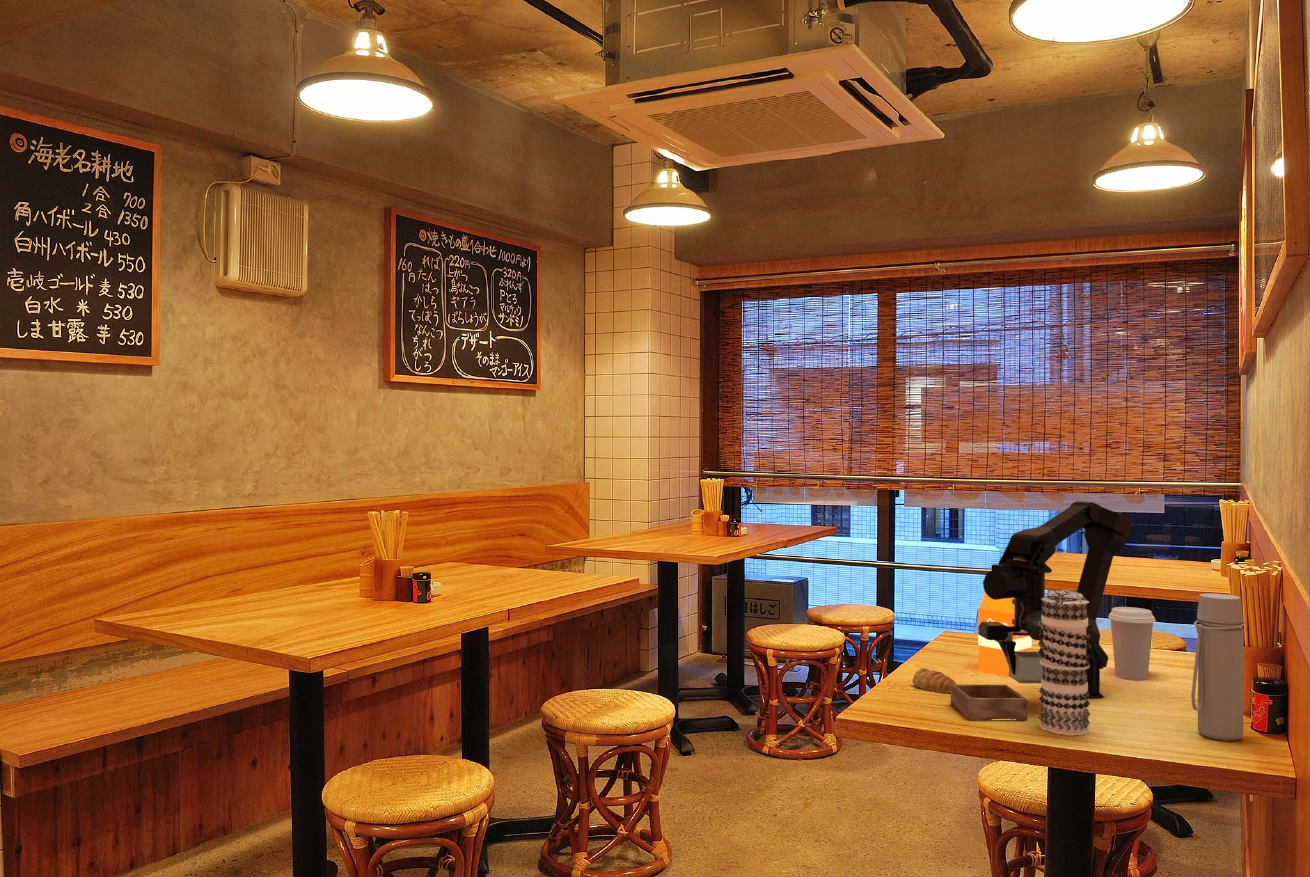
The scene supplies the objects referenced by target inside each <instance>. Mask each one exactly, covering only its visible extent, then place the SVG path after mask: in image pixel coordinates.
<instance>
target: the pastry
mask: <svg viewBox="0 0 1310 877" xmlns="http://www.w3.org/2000/svg"><path fill="white" fill-rule="evenodd" d="M912 684H913V685H914V687H915V688H917V689H919V688H920V689H921V690H923V689H925V690H924V691H928V692H932V691H934V692H933V693H938V694H951V685H958V683H956V681H955V680H954V679H952V678H950V676H947V675H946V674H944V673H943V672H940V671H938V670H929V669H928V668H926V667H924V668H919V670H916V672H915V673H914V675H913V678H912Z"/></svg>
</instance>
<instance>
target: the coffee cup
mask: <svg viewBox="0 0 1310 877" xmlns="http://www.w3.org/2000/svg"><path fill="white" fill-rule="evenodd" d="M1108 619H1109V620H1110V626H1111V627H1110V628H1111V638H1112V639H1111V640H1112V649H1113V650H1112V651H1113V661H1114V663H1113V664H1114V675H1115V677H1117V678H1118V679H1119V678H1120V679H1123V680H1127V681H1129V680H1130V681H1146V680H1148V679H1149V670H1150V669H1149V667H1150V658H1151V649H1152V648H1151V647H1152V639H1153V638H1152V637H1153V628H1154V623H1156V621H1157V620H1156V618H1155V616H1154V615H1153V612H1152V611H1151V610H1150V609H1146V608H1142V607H1141V608H1140V607H1129V606H1118V607H1117V606H1115V607H1112V608H1111V612H1110V613H1109V614H1108Z"/></svg>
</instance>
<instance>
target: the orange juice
mask: <svg viewBox="0 0 1310 877" xmlns="http://www.w3.org/2000/svg"><path fill="white" fill-rule="evenodd" d="M1012 599H1014V598H1008V599H999V600H994V599H991V598H990V597H989V596H988V595H987V594H986V593H985V592H984V595H983V597H982V600H981V603H980V606H979V607H978V625H979V624H980V623H981V622H1000V623H1002V624H1004V625H1006V626H1014V625H1013V624H1012V619H1014V604H1012ZM977 640H978V644H977V645H978V672H980V671H982V672H981V673H984V672H986V674H989V673H993V674H992V675H994V674H998V675H997V676H999V675H1005V676H1007V677H1006V678H1008V677H1009V666H1008V663H1007V661H1006V658H1005V656H1004V653H1003V651H1002V649H1001V647H1000V645H999V643H998V642H996V641H994V640H987V639H985V638H983V637H982V636H980V635H978V639H977ZM1013 641H1015V642H1016V646H1015V651H1032V641H1033V639H1032V638H1030V636H1016V635H1013Z"/></svg>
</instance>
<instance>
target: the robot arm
mask: <svg viewBox="0 0 1310 877" xmlns="http://www.w3.org/2000/svg"><path fill="white" fill-rule="evenodd" d="M1081 529H1083V530H1084V533H1083V534H1084V536H1083V537H1084V540H1085V542H1086V545H1087V548H1088V549H1087V554H1086V556H1085V560H1084V564H1083V567H1082V569H1081V570H1082V571H1081V574H1080V578H1079V582H1078V586H1077V589H1076V592H1079V593H1081V594H1082V595H1083V596H1084V598H1085V600H1087V601H1089V603H1087V618H1088V624H1090V625H1092V626H1093V627H1092V628H1091V629H1089V628H1088V629H1087V628H1086V634H1087V633H1088V634H1089V635H1090V636H1091V637H1092V639H1090V640H1088V641H1087V640H1086V643H1089V644H1090V645H1091V646H1092V647H1091V648H1089V649H1087V650H1086V653H1087V654H1088V655H1090V656H1091V658H1090V659H1089V660H1086V662H1087V663H1088V664H1090V666H1089V668H1088V669H1087V682H1088V691H1087V692H1088V693H1089V694H1090V696H1089V698H1104V694H1103V693H1101V691H1100V690H1101V688H1100V687H1101V686H1100V685H1101V684H1100V683H1101V681H1100V680H1101V678H1100V677H1101V676H1100V675H1101V670H1102V669H1104V668H1107V667H1108V666H1107V665H1108V660H1109V655H1108V654H1107V653H1106V652H1105V651H1104V649H1103V648H1102V646H1101V644H1100V640H1101V633H1100V629H1099V627H1098V624H1097V618H1098V613H1099V611H1100V606H1101V603H1102V599H1103V595H1104V592H1105V588H1106V584H1107V581H1108V577H1109V574H1110V569H1111V567H1112V562H1113V559H1114V557H1115V555H1117V553H1118V552H1120V550H1122V549H1123V548H1124V547H1125V546H1126V543H1127V541H1128V539H1129V537H1130V536H1129V535H1130V534H1131V530H1132V523H1131V521H1130V520H1129V519H1128V517H1127V515H1125V513H1119V512H1117V511H1114V510H1111V509H1108V508H1105V507H1103V506H1101V505H1100V504H1098V503H1096V502H1094V501H1081V500H1080V501H1079V500H1078V501H1077V500H1076V501H1073V502H1072V503H1071V504H1070V506H1069V507H1067V508H1065V509H1064V510H1063V511H1061V512H1059V513H1058V514H1056V515H1055V516H1054V517H1052V518H1050V519H1049V520H1047V521H1046V522H1044V523H1043V524H1041V525H1039V526H1037V527H1031V528H1025V529H1022V530H1019V531H1017V532H1015V533H1013V534H1012V535H1011V537H1010V538H1009V541H1008V543H1007V545H1006V547H1005V549H1004V552H1003V553H1002V556H1001V557H1000V560H999V562H997V563H998V564H997V563H995V564H992V565H991V570H990V571H988V572H987V573H986V574H985V576H984V579H983V581H982V585H983V591H984V594H985V593H986V594H987V595H988V596H989V597H990V598H991V599H994V600H999V599H1008V598H1014V599H1012V604H1014V619H1012V624H1013V625H1014V626H1006V625H1004V624H1002V623H1000V622H981V623H980V624H979V623H978V635H980V636H982V637H983V638H985V639H987V640H994V641H996V642H998V643H999V645H1000V647H1001V649H1002V651H1003V653H1004V656H1005V658H1006V661H1007V663H1008V666H1009V668H1010V671H1011V673H1012V674H1015V671H1016V663H1015V646H1016V642H1015V641H1013V635H1016V636H1030V638H1032V641H1033V640H1034V641H1039V640H1040V639H1042V638H1041V637H1040V636H1039V634H1038V631H1039V629H1040V628H1039V627H1038V625H1037V624H1038V621H1039V620H1041V616H1042V614H1043V600H1041V599H1042V598H1045V597H1046V595H1045V594H1046V593H1045V592H1046V591H1045V590H1046V589H1045V588H1046V586H1045V585H1046V576H1045V575H1046V574H1049V573H1052V572H1053V570H1052V568H1051V566H1049V565H1047V564H1046V562H1048V561H1049V559H1050V558H1051V557H1052V556H1053V555H1054V554H1055V553H1056V550H1057V546H1058V545H1059V544H1060V543H1061V542H1063V541H1064V540H1065V541H1066V539H1068V538H1069V537H1070V536H1072V535H1073V534H1076V532H1078V531H1079V530H1081Z"/></svg>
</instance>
